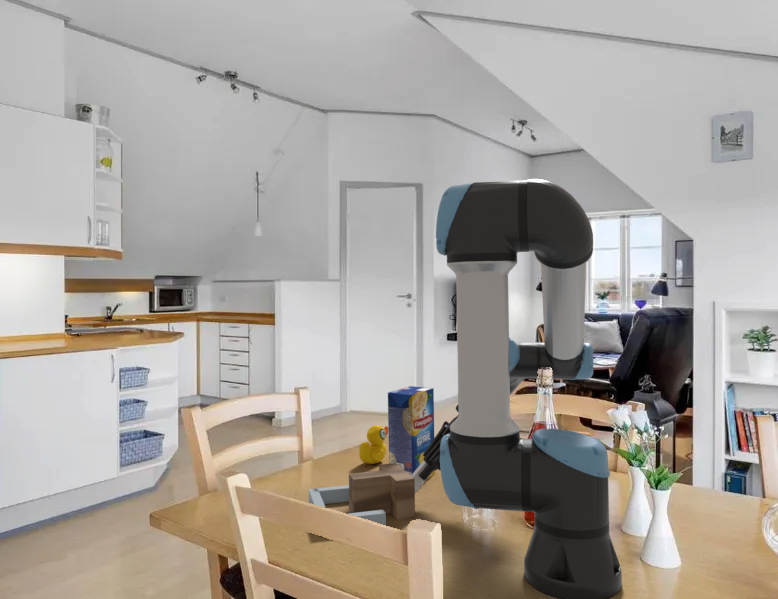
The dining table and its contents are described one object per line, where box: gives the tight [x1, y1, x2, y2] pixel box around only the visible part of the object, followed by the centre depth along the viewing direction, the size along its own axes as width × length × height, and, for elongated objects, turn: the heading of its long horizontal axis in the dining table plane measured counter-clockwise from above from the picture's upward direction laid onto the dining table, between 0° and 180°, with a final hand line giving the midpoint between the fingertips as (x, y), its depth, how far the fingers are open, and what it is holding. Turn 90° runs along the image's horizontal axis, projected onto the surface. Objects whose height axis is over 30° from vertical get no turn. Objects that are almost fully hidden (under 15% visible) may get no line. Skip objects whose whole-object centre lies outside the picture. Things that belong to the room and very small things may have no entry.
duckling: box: [358, 424, 389, 465], centre depth 165 cm, size 11×5×10 cm, turn 143°
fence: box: [308, 484, 387, 526], centre depth 127 cm, size 19×13×3 cm
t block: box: [348, 463, 416, 520], centre depth 129 cm, size 12×12×8 cm
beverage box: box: [387, 385, 436, 480], centre depth 151 cm, size 7×11×22 cm, turn 147°
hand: (409, 488), depth 132 cm, fingers closed
